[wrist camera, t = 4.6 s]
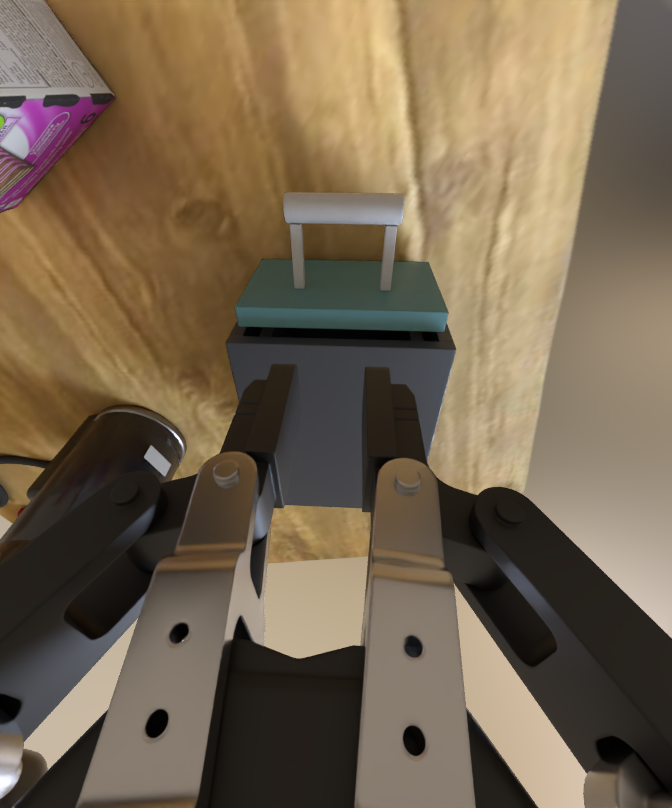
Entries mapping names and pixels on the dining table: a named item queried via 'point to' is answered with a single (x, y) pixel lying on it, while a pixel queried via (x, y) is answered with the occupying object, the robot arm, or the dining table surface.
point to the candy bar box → (41, 96)
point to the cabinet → (341, 400)
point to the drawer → (343, 280)
